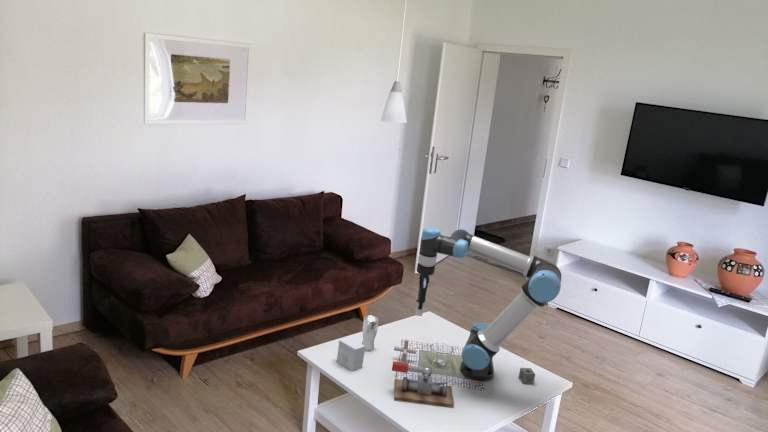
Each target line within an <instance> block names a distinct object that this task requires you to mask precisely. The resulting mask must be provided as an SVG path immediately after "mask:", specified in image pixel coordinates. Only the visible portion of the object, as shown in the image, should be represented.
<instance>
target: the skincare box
mask: <svg viewBox="0 0 768 432" xmlns="http://www.w3.org/2000/svg"><path fill="white" fill-rule="evenodd" d="M364 356H365V346H364V345H362V343H361V342H359V341H357V340H355V339H353V338H351V337H349V336H347V337H344V338H342V339H339V340H338V349H337V357H336V363H338V364H340V365H342V366H343V367H345V368H347V369H348V370H350V371H352V372H354V371H356V370H359V369H362V368H363V365H364V359H365V358H364Z"/></svg>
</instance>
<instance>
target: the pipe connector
mask: <svg viewBox="0 0 768 432" xmlns="http://www.w3.org/2000/svg"><path fill="white" fill-rule="evenodd" d="M393 350H394V351H397V352H402V355H401V356H402V357H401V361H403V362H405V361H406V360H407V355H408V353H410V354H414V355H415V354H417V349H414V348H409V339H408V338H404V342H403V347H402V346H395V345H394V348H393Z"/></svg>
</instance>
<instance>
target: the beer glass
mask: <svg viewBox="0 0 768 432" xmlns="http://www.w3.org/2000/svg"><path fill="white" fill-rule="evenodd" d="M378 329H379V318H378V317H377V316H374V315H371V314H370V315H365V316H364V318H363V322H362V343H361V344H362V345H364V346H365V351H366V352H372V351H373V350H375V340H376V337H377V333H378ZM365 351H364V352H365Z"/></svg>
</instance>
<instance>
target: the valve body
mask: <svg viewBox="0 0 768 432" xmlns="http://www.w3.org/2000/svg"><path fill="white" fill-rule="evenodd" d="M402 380H403V382H402V391H406V390H412V391H417V394H421V395H429V396H431V393H436V394H442V396H446V394H447V385H448V381H447V382H446V381H442V382H435V381H433V376H432V375H431V376H429V377H426V376H423V375H422V374H418V376H417V379H413V378H408V376H403V377H402Z"/></svg>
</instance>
